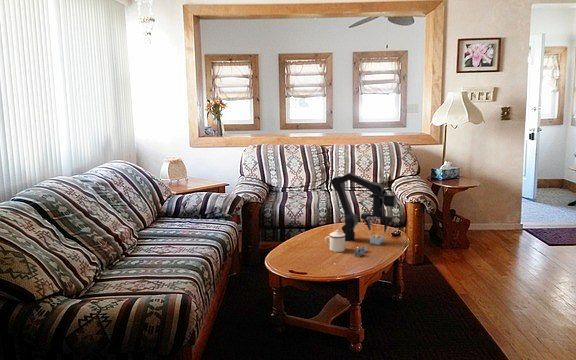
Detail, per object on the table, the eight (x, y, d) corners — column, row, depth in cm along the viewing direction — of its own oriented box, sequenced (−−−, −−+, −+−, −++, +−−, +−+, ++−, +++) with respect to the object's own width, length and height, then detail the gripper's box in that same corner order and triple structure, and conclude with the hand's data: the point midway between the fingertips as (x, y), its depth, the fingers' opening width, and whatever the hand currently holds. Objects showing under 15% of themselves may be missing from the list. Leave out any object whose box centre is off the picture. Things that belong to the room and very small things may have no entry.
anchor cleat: (359, 257, 264) (359, 248, 263) (354, 256, 265) (354, 247, 264) (363, 254, 268) (363, 246, 267) (358, 253, 269) (358, 245, 269)
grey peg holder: (369, 245, 284) (369, 236, 283) (370, 241, 292) (370, 232, 291) (383, 245, 282) (383, 237, 281) (383, 241, 290) (383, 233, 289)
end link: (379, 244, 283) (380, 239, 282) (370, 243, 286) (370, 237, 285) (383, 242, 288) (383, 236, 287) (373, 240, 291) (373, 234, 290)
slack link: (364, 252, 271) (364, 248, 270) (359, 252, 272) (359, 248, 271) (366, 250, 274) (366, 246, 274) (362, 250, 275) (362, 246, 275)
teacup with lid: (347, 248, 278) (347, 228, 276) (342, 253, 270) (342, 233, 268) (328, 245, 284) (328, 226, 282) (322, 250, 276) (322, 230, 274)
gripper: (397, 204, 285) (397, 230, 288) (367, 201, 294) (367, 226, 297) (391, 208, 276) (391, 234, 278) (360, 205, 285) (360, 230, 287)
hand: (377, 231), depth 285 cm, fingers open, 9 cm apart
